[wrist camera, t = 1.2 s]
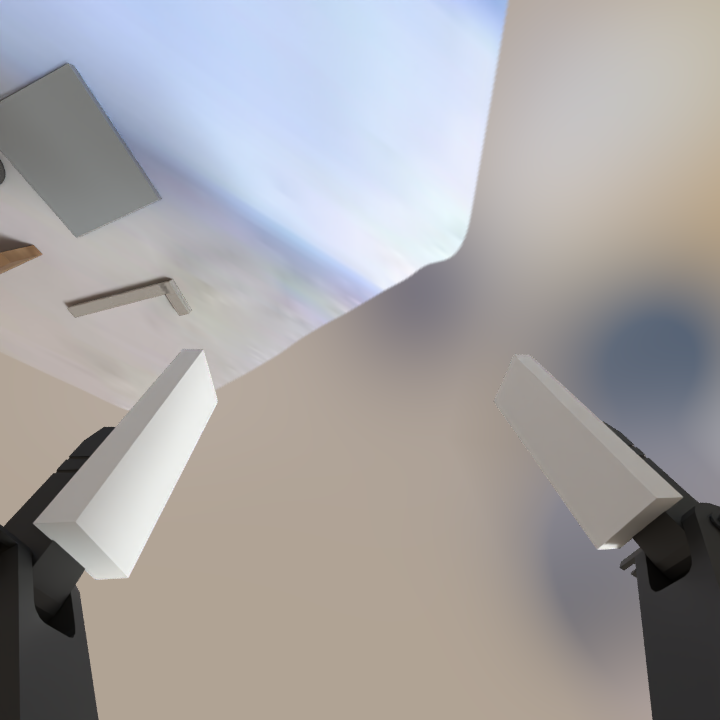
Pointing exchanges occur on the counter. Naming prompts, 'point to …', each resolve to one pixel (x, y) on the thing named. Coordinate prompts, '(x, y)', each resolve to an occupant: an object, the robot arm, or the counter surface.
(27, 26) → the counter surface
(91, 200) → the coaster
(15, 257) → the cubby
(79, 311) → the crook tool
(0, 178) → the disc
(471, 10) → the counter surface
